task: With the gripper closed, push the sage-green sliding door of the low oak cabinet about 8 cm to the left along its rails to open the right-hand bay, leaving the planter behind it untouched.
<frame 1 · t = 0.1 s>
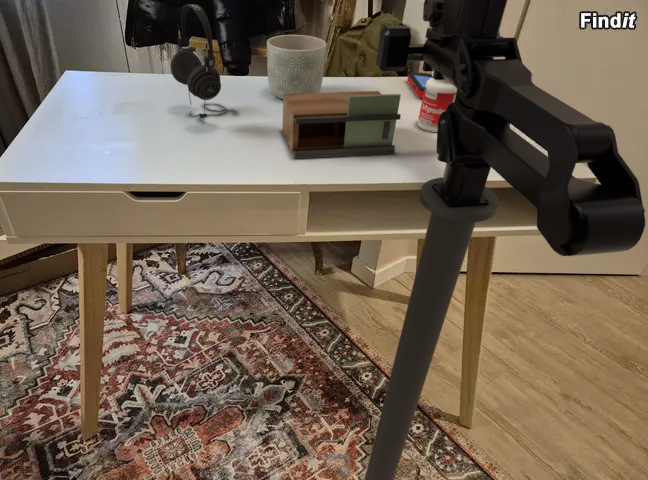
hand: (417, 34, 84), 17 cm above the table, tool horizontal, fingers open, 9 cm apart
headphones: (210, 118, 99), on the table
planter: (294, 96, 110), on the table
game console: (438, 91, 115), on the table
cabinet: (334, 139, 92), on the table
pill bottle: (432, 127, 98), on the table
sliding door: (371, 122, 85), point 6 cm above the table, slide at 0.0 cm
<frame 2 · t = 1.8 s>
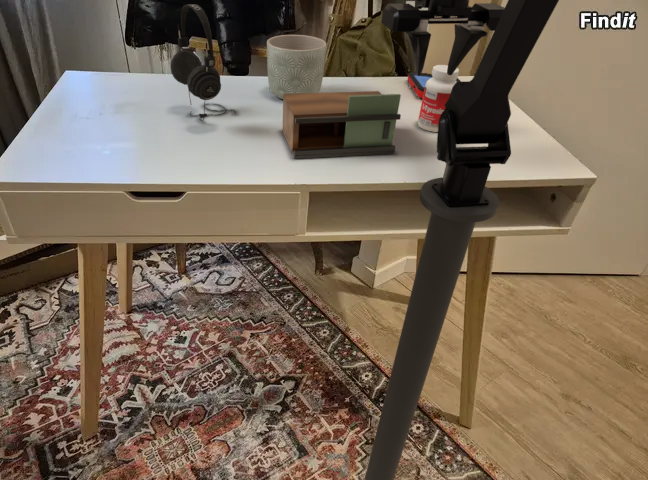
hand: (433, 75, 82), 13 cm above the table, tool pointing down, fingers open, 5 cm apart
nothing on the table moved.
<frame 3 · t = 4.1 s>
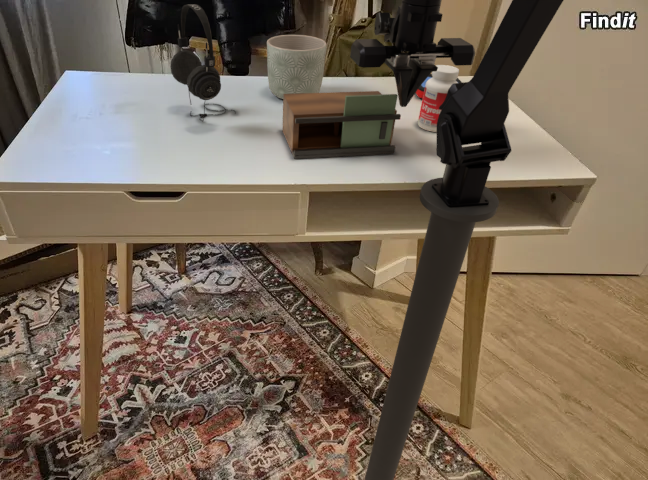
hand: (402, 106, 84), 8 cm above the table, tool pointing down, fingers closed
sliding door: (368, 122, 85), point 6 cm above the table, slide at 0.6 cm, touching gripper
everything else where it was.
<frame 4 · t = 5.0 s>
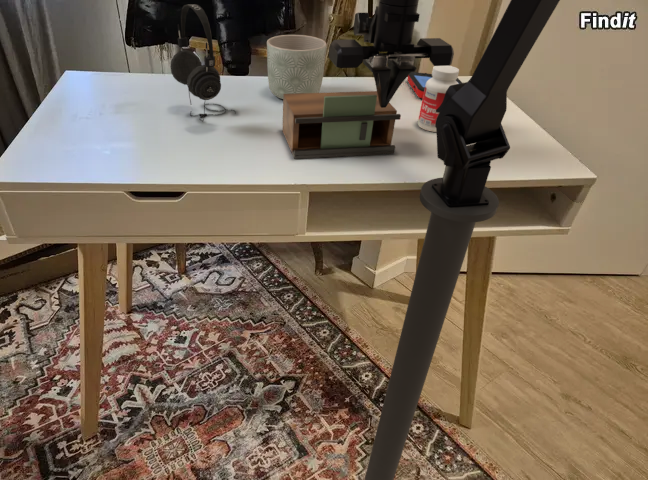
hand: (382, 106, 84), 8 cm above the table, tool pointing down, fingers closed
sliding door: (348, 123, 84), point 6 cm above the table, slide at 4.1 cm, touching gripper
everything else where it was.
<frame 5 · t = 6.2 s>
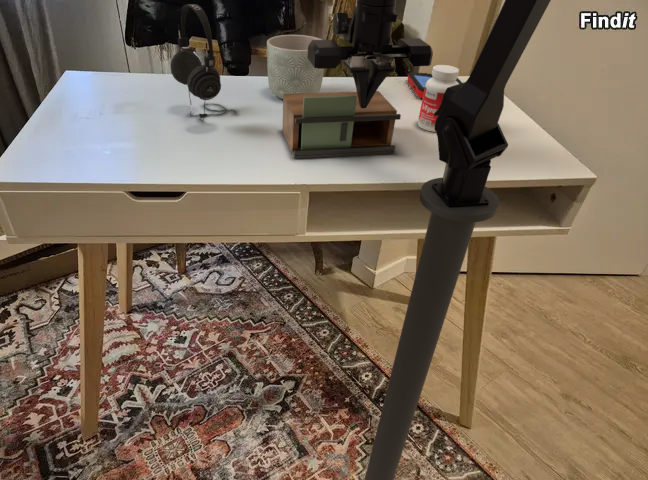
hand: (362, 107, 83), 8 cm above the table, tool pointing down, fingers closed
sliding door: (328, 123, 84), point 6 cm above the table, slide at 7.6 cm, touching gripper
everything else where it was.
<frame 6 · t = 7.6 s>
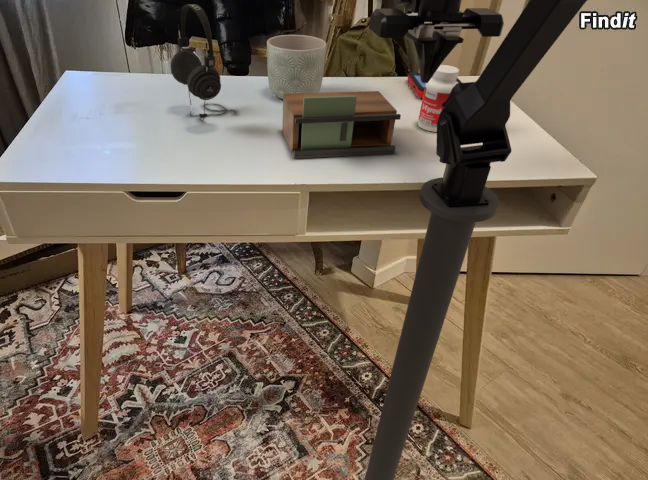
hand: (424, 82, 79), 13 cm above the table, tool pointing down, fingers closed
sliding door: (328, 123, 84), point 6 cm above the table, slide at 7.6 cm
everything else where it was.
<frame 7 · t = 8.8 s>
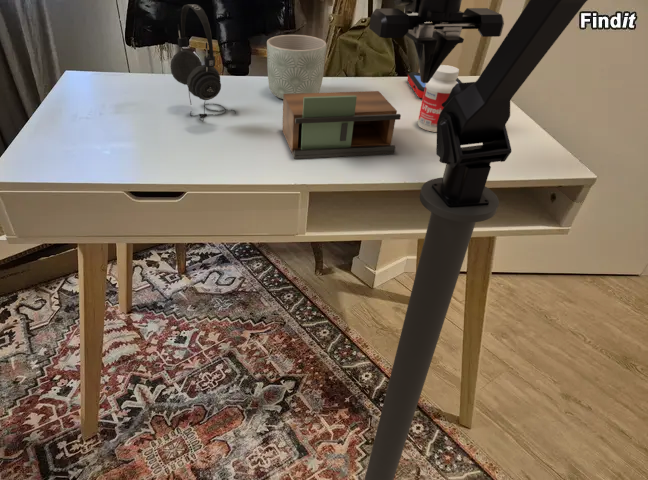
hand: (424, 82, 79), 13 cm above the table, tool pointing down, fingers closed
nothing on the table moved.
at the end: sliding door slide at 7.6 cm; planter moved 0.2 cm from its start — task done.
